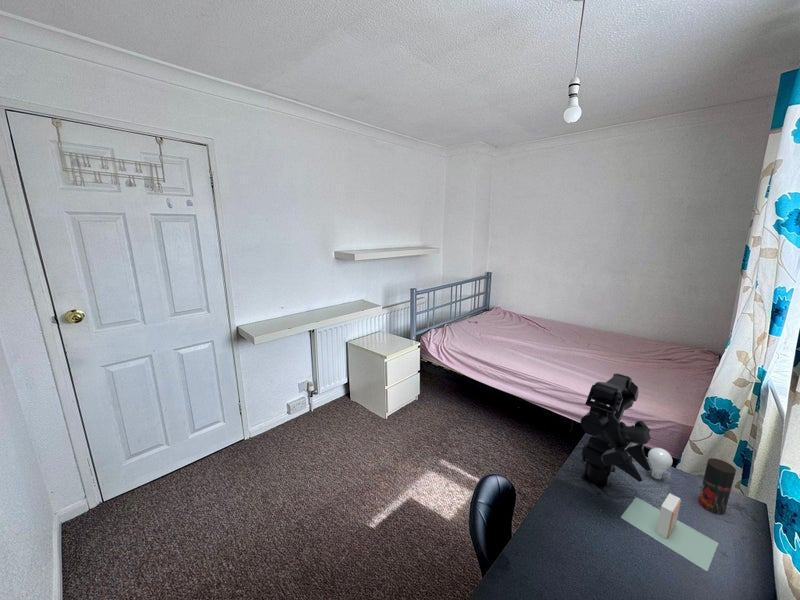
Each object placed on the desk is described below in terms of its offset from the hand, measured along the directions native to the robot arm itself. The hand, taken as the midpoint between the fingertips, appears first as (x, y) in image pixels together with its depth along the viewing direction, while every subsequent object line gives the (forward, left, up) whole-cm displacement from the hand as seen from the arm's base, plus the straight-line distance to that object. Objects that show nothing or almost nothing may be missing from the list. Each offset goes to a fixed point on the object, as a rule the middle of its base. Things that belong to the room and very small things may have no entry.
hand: (645, 475), depth 93 cm
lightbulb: (-2, +21, -14) cm, 25 cm away
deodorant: (+12, +20, -14) cm, 28 cm away
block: (+6, 0, -13) cm, 15 cm away
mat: (+7, 0, -14) cm, 15 cm away
